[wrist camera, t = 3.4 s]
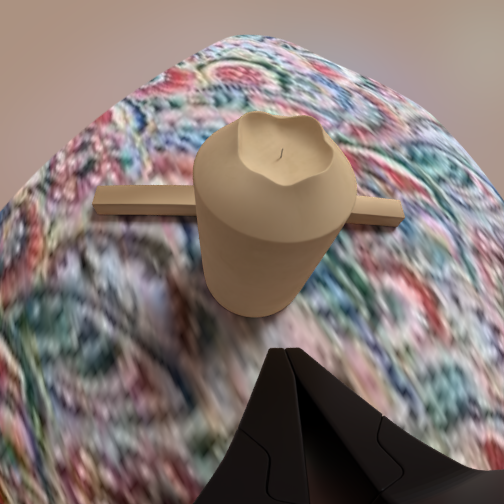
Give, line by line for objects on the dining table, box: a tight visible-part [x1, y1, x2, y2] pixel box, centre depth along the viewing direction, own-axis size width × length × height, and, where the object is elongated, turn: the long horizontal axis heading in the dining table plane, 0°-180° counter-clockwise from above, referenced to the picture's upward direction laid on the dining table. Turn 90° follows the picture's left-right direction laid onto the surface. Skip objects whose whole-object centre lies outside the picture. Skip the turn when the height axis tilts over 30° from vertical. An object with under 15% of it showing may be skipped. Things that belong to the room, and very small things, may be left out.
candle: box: [193, 111, 357, 318], centre depth 13 cm, size 6×6×10 cm
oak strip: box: [92, 185, 405, 227], centre depth 19 cm, size 1×20×1 cm, turn 90°
